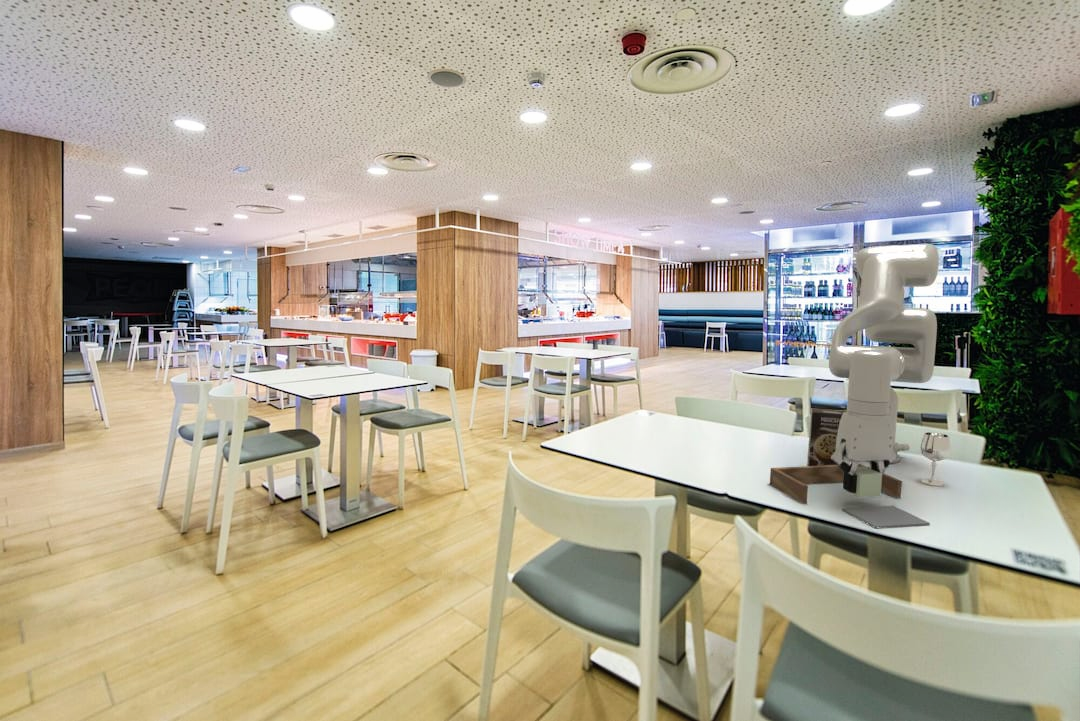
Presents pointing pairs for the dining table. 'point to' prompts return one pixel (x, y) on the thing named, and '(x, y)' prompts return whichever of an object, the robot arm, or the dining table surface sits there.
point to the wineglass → (935, 452)
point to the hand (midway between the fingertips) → (861, 489)
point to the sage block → (867, 482)
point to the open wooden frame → (820, 480)
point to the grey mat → (885, 516)
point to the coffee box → (823, 436)
